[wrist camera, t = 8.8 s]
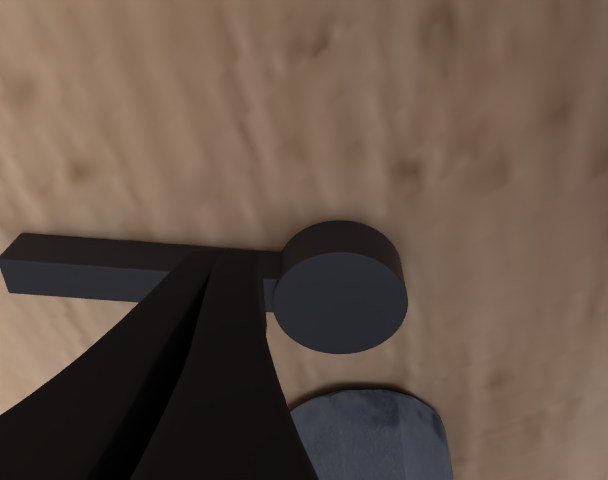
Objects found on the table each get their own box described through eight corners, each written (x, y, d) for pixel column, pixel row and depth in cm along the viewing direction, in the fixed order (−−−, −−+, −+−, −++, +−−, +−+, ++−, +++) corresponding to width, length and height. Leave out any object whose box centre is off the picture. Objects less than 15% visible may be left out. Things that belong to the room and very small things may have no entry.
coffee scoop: (40, 296, 21) (15, 330, 19) (9, 195, 18) (-23, 225, 17) (390, 322, 21) (395, 359, 19) (411, 225, 18) (419, 257, 17)
